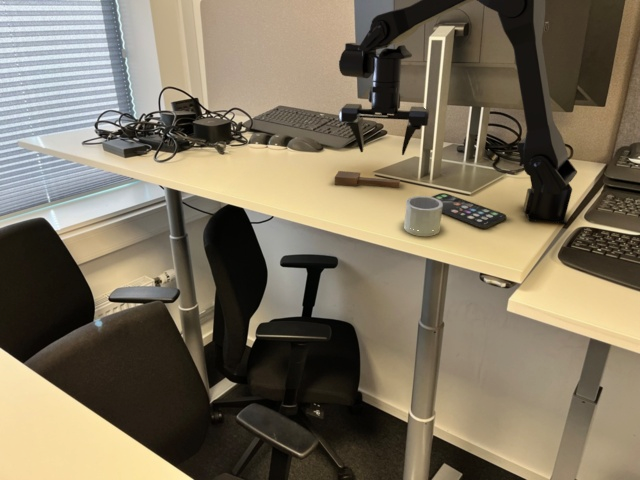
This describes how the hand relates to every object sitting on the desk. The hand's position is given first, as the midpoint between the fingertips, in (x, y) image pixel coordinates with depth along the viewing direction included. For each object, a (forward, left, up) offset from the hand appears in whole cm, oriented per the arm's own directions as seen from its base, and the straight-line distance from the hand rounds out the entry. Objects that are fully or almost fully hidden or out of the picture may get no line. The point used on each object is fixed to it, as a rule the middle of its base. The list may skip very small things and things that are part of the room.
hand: (382, 153), depth 104 cm
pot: (-11, +25, -6) cm, 28 cm away
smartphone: (-18, +16, -6) cm, 24 cm away
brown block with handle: (+2, +5, -6) cm, 8 cm away
